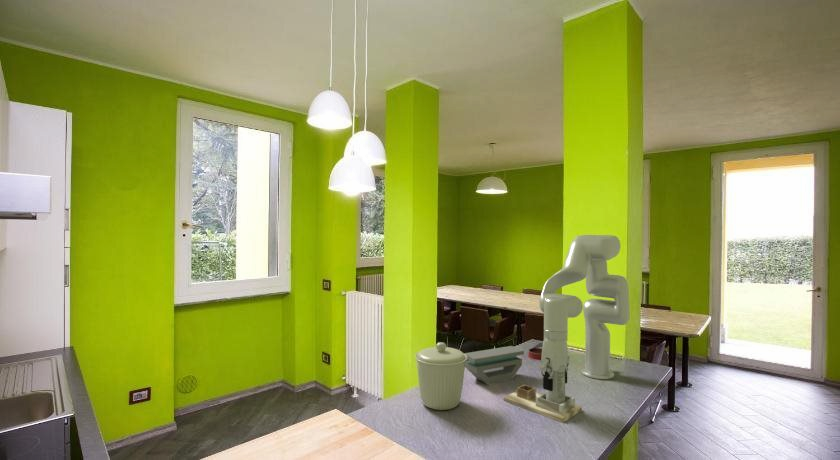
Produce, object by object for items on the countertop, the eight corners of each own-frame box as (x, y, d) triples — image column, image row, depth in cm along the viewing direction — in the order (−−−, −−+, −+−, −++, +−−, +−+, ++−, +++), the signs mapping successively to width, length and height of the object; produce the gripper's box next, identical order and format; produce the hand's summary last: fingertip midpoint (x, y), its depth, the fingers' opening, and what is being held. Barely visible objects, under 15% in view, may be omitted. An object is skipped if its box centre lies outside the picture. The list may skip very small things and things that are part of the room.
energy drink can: (553, 400, 137) (552, 357, 137) (568, 406, 132) (568, 361, 132) (542, 405, 133) (542, 360, 133) (558, 411, 128) (558, 365, 129)
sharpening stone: (474, 387, 151) (474, 359, 151) (462, 381, 158) (462, 353, 158) (524, 377, 163) (524, 350, 163) (511, 371, 170) (511, 345, 170)
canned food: (534, 369, 186) (524, 350, 186) (531, 360, 196) (522, 342, 196) (556, 360, 184) (546, 341, 184) (553, 351, 194) (543, 333, 194)
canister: (439, 389, 149) (439, 333, 150) (477, 404, 136) (478, 343, 137) (403, 403, 137) (404, 342, 137) (442, 421, 124) (442, 353, 124)
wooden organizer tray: (524, 390, 149) (524, 379, 149) (581, 410, 132) (581, 397, 132) (503, 400, 140) (503, 388, 140) (562, 422, 124) (562, 409, 124)
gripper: (557, 328, 141) (557, 376, 141) (531, 337, 129) (531, 389, 129) (578, 332, 136) (578, 382, 136) (553, 341, 124) (552, 396, 124)
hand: (555, 386), depth 132 cm, fingers open, 9 cm apart
